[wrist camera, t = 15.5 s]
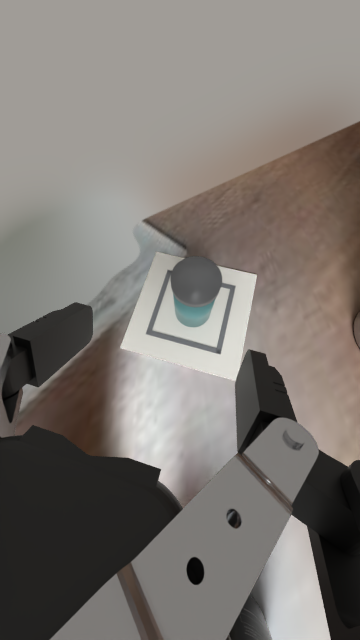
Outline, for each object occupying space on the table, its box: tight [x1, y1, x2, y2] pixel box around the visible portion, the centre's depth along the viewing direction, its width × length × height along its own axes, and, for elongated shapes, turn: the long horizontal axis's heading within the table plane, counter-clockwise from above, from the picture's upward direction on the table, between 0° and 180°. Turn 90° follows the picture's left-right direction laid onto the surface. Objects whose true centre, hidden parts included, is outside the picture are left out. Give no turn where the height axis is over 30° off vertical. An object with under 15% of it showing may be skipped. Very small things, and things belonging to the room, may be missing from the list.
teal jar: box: [170, 256, 222, 327], centre depth 22 cm, size 5×5×8 cm
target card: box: [120, 252, 257, 381], centre depth 26 cm, size 14×14×1 cm
